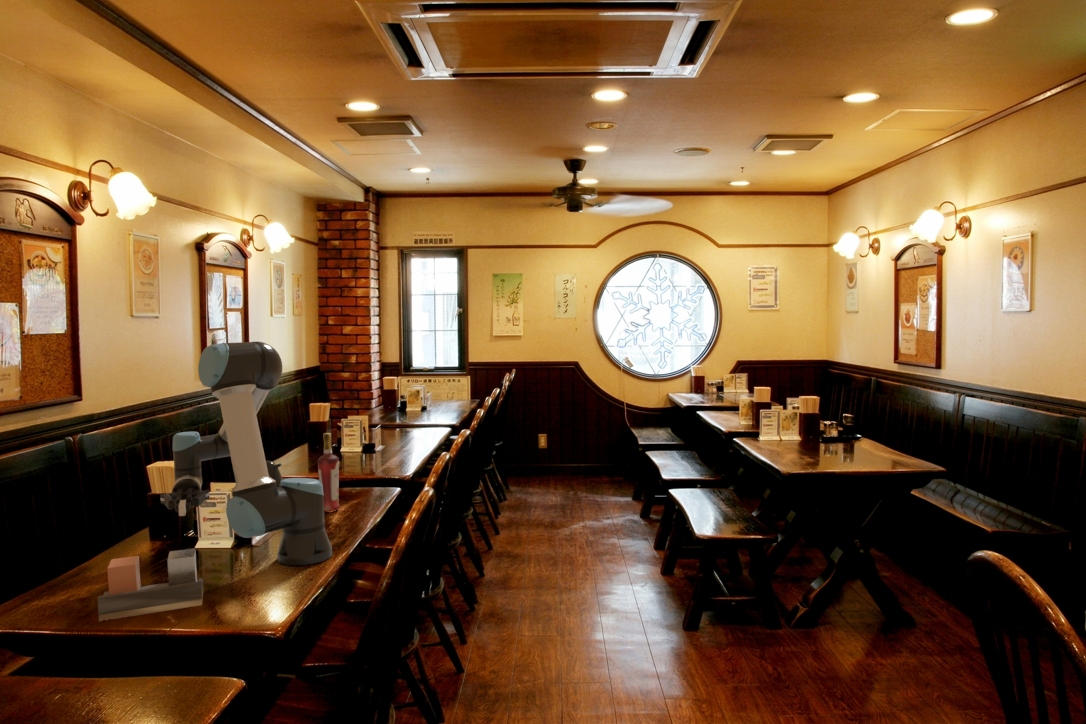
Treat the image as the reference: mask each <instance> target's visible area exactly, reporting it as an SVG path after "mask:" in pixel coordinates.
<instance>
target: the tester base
mask: <svg viewBox="0 0 1086 724" xmlns="http://www.w3.org/2000/svg"><path fill="white" fill-rule="evenodd" d="M203 598H204V579H203V577H199V578H198V577H197V582H192V583H185V584H179V585H172V586H169V582H163V583H157V584H152V585H151V584H149V585H144V586H143V585H141V588H140V590H138V591H131V592H125V593H118V594H111V595H109V590H108V591H104V593H103V595H99V596H97V611H98V612H97V614H98V622H104V621H103V620H105V621H109V619H111V620H117V619H122V617H123V618H128V617H129V616H130V617H135V616H140V615H148V614H154V613H161V612H165V611H166V612H167V611H172V610H173V611H174V610H179V609H184V608H190V607H193V608H194V607H198V606H199V607H200V606H202V605H203Z"/></svg>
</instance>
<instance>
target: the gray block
mask: <svg viewBox="0 0 1086 724" xmlns="http://www.w3.org/2000/svg"><path fill="white" fill-rule="evenodd" d="M167 573H168V575H167V577H168V583H169V586H172V585H179V584H185V583H192V582H198V575H197V574H198V573H197V553H196V548H187V549H179V550H172V551H171V550H170V551H169V553H168V557H167Z"/></svg>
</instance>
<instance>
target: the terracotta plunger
mask: <svg viewBox="0 0 1086 724" xmlns="http://www.w3.org/2000/svg"><path fill="white" fill-rule="evenodd" d="M140 568H141V567H140V556H139V555H136V556H135V555H134V556H126V557H119V558H112V559H111V560H110V562H109V563H108V566H107V568H106V569H107V579H108V580H107V581H108V583H107V584H108V591H109V595H111V594H118V593H125V592H131V591H138V590H140V588H141V587H142V584H141V571H140Z"/></svg>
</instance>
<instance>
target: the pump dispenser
mask: <svg viewBox="0 0 1086 724" xmlns="http://www.w3.org/2000/svg"><path fill="white" fill-rule="evenodd" d="M266 465H267V470H268V474H269V477H270V478H272V479H273V480H275V481H276V485H277V488H278V487H281V485H280V483H281V480H283V477H282V473H281V471H280V469H279V468H280V467H281V466H282V463H281V462H280V463H277V464H276V462H274V461H271V460H266Z"/></svg>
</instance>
